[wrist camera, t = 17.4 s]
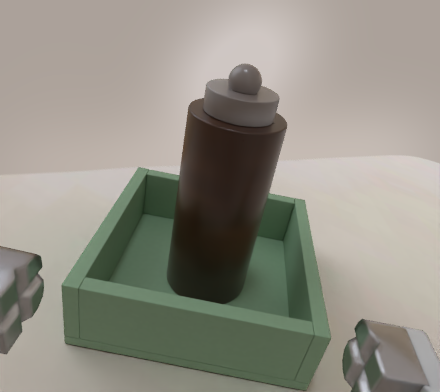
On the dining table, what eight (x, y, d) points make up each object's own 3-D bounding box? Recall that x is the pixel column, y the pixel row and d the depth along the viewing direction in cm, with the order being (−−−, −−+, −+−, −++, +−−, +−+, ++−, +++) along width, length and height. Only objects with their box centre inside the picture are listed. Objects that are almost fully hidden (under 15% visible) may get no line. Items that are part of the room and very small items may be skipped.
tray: (64, 343, 19) (61, 284, 17) (135, 212, 30) (138, 166, 28) (306, 391, 19) (331, 338, 17) (290, 243, 30) (304, 200, 28)
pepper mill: (158, 297, 22) (186, 64, 16) (175, 245, 27) (203, 45, 20) (241, 313, 22) (305, 88, 16) (245, 259, 27) (296, 64, 20)
